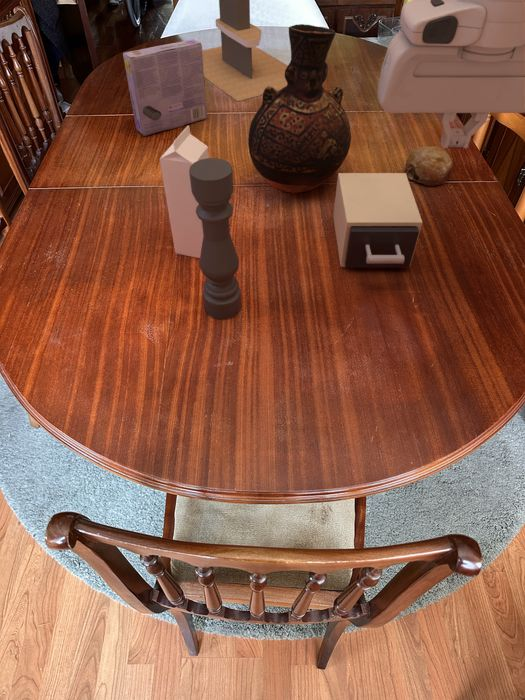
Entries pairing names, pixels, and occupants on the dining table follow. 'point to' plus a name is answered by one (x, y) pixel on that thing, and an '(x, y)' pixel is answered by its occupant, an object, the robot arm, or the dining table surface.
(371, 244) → the dark grey drawer
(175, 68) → the cake pan box
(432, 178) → the brown mottled round lump
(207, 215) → the candle holder
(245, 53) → the architectural model
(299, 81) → the ceramic vessel
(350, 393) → the dining table surface
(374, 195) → the drawer cabinet
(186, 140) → the milk
